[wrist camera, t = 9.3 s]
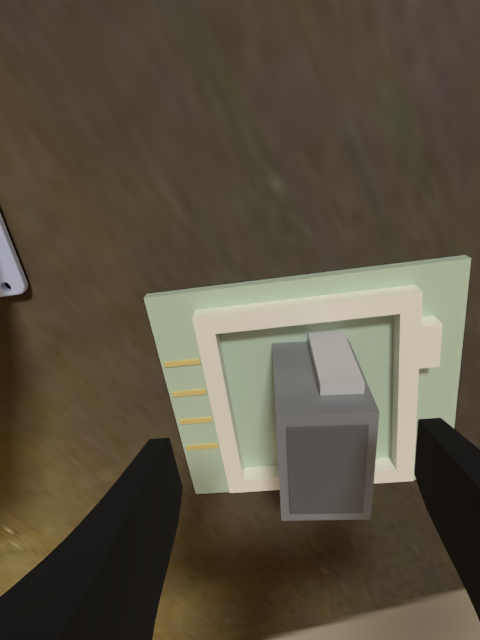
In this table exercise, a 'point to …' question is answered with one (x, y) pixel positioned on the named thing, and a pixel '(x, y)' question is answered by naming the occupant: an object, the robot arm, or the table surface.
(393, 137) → the table surface
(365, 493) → the plug
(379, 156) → the table surface
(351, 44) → the table surface
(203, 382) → the board
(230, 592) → the table surface
